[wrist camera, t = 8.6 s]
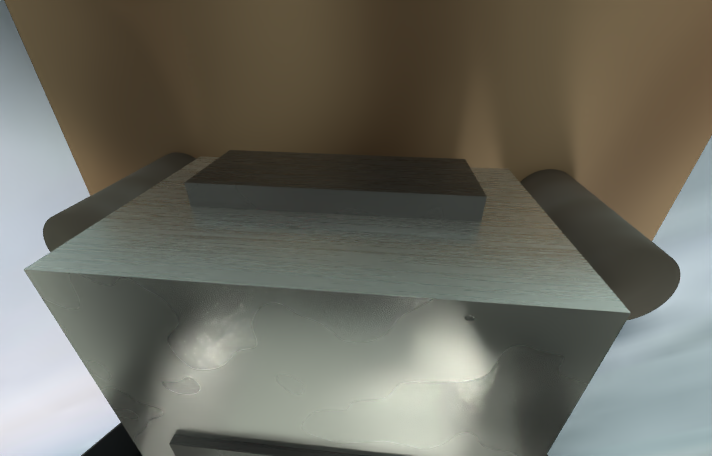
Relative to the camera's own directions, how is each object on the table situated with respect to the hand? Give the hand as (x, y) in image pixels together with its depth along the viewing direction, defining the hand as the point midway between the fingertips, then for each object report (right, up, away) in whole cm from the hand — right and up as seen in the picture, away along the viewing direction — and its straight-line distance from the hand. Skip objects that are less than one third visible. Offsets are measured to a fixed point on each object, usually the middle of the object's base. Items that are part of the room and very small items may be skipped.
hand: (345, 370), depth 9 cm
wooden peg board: (0, +2, +3) cm, 4 cm away
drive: (0, 0, +1) cm, 1 cm away
